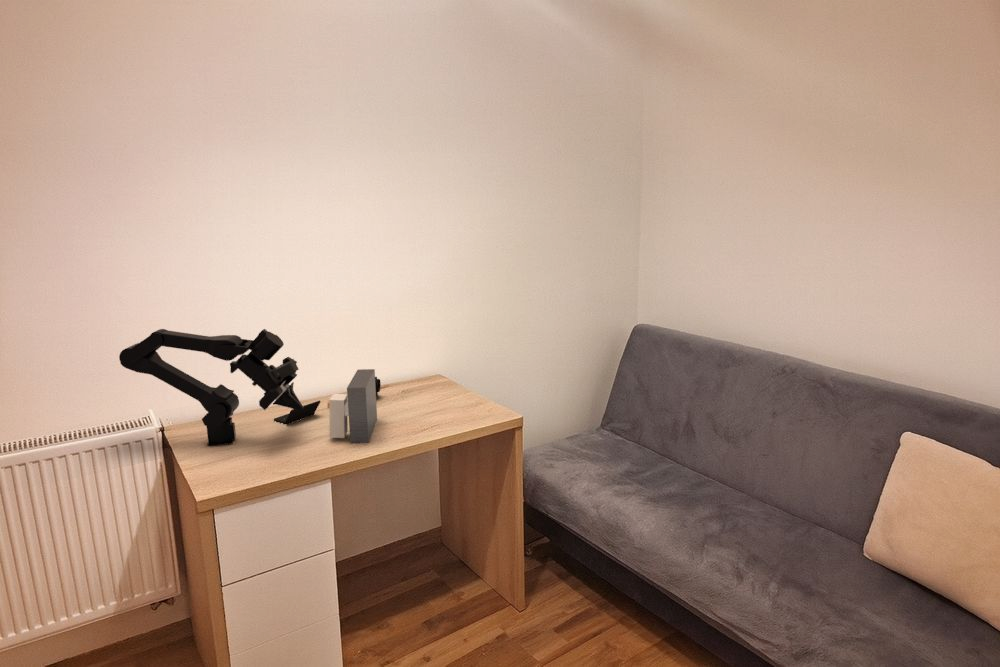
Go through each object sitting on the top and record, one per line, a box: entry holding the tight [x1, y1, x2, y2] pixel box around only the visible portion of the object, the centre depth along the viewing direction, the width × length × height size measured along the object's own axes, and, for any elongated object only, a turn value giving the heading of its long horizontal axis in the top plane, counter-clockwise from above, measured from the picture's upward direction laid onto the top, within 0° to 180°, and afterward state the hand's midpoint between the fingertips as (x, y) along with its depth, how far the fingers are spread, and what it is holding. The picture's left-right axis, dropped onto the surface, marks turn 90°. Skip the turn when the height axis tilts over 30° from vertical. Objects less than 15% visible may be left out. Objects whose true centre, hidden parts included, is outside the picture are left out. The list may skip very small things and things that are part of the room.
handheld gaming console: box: [273, 400, 322, 425], centre depth 197 cm, size 12×7×10 cm
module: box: [327, 393, 349, 439], centre depth 181 cm, size 5×5×11 cm
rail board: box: [344, 368, 378, 444], centre depth 186 cm, size 6×18×16 cm, turn 3°
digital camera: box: [375, 376, 382, 398], centre depth 213 cm, size 10×5×7 cm, turn 178°
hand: (302, 409), depth 180 cm, fingers closed
